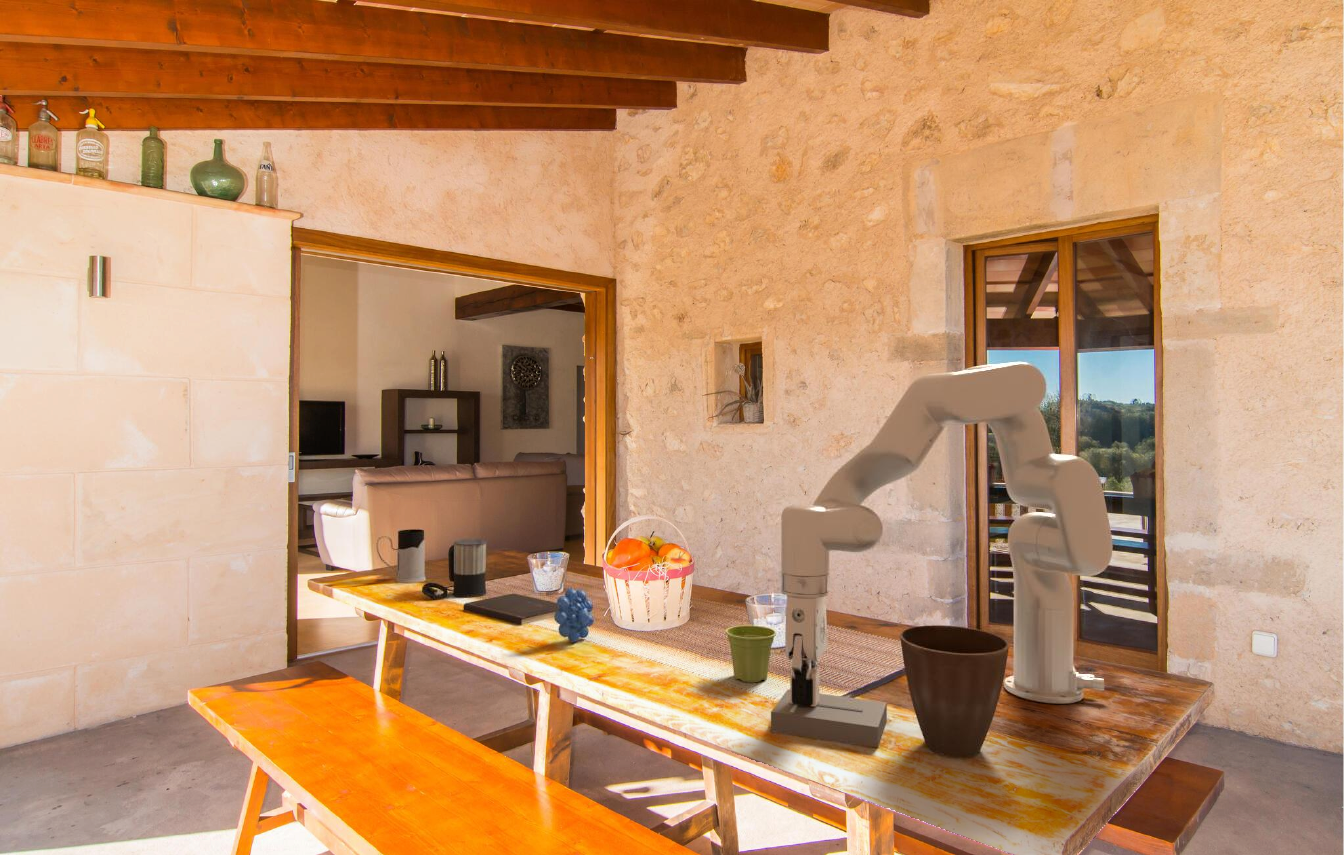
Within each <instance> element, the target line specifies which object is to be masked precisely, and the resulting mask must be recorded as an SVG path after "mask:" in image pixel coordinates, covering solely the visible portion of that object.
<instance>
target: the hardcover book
mask: <svg viewBox="0 0 1344 855" xmlns="http://www.w3.org/2000/svg"><path fill="white" fill-rule="evenodd" d="M462 609H463V612H464V611H465V612H468V613H472V614H476V615H480V616H483V617H487V618H491V619H494V620H499V621H503V622H506V623H511V624H513V625H517V626H523V625H527V624H532V623H536V622H540V621H544V620H548V619H551V618H553V619H554V615H555V613H556V611H558V610H561V609H559V607H558V606H557V602H554V601H550V600H544V599H539V598H535V597H532V596H526V595H522V594H518V593H509V594H505V595H499V596H495V597H490V598H484V599H479V600H474V601H470V602H465V603H464V604H463V608H462Z"/></svg>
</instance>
